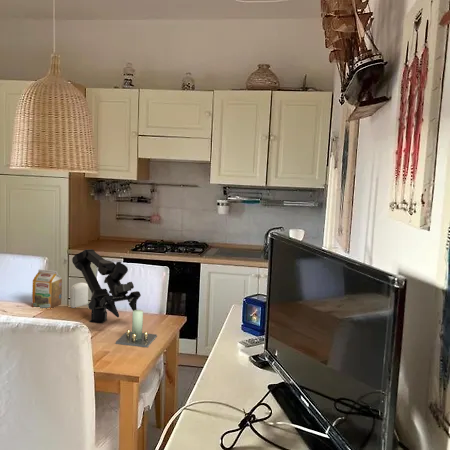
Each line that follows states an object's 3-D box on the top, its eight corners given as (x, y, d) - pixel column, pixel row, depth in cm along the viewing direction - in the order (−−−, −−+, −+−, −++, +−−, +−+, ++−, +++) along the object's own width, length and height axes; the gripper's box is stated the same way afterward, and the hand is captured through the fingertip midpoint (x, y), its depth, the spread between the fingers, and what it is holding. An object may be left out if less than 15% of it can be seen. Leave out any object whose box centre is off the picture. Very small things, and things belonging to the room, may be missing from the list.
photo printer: (74, 308, 249) (74, 285, 248) (68, 306, 251) (69, 283, 250) (89, 304, 258) (89, 282, 256) (83, 302, 260) (84, 280, 259)
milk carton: (61, 304, 255) (62, 269, 253) (50, 309, 245) (51, 273, 243) (43, 302, 257) (44, 267, 255) (32, 307, 246) (32, 271, 244)
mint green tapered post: (132, 339, 205) (133, 313, 204) (131, 336, 210) (132, 309, 208) (142, 339, 207) (143, 312, 205) (141, 335, 211) (142, 309, 210)
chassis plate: (115, 343, 202) (115, 334, 202) (127, 333, 216) (127, 324, 216) (147, 347, 200) (147, 338, 200) (156, 336, 214) (157, 328, 214)
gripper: (104, 278, 208) (116, 309, 202) (139, 274, 222) (152, 302, 215) (94, 292, 215) (106, 322, 208) (129, 287, 228) (141, 315, 221)
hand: (127, 315), depth 213 cm, fingers open, 9 cm apart
